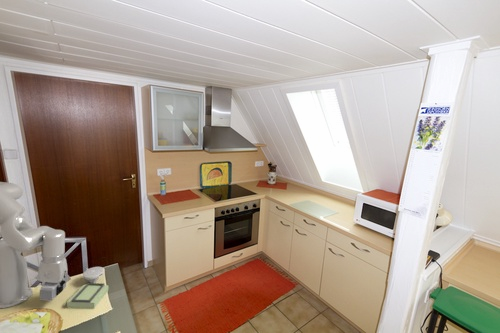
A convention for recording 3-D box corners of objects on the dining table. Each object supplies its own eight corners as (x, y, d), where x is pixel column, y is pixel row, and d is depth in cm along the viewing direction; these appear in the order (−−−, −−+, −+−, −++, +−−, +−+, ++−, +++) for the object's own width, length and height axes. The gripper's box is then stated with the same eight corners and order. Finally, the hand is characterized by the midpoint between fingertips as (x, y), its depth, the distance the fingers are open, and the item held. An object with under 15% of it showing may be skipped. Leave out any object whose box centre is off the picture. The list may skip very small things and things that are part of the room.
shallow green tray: (67, 307, 103) (66, 300, 103) (84, 289, 115) (83, 282, 115) (94, 308, 104) (94, 300, 104) (108, 290, 116) (108, 283, 116)
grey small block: (39, 299, 101) (39, 287, 100) (55, 286, 109) (55, 275, 109) (51, 300, 101) (52, 288, 100) (65, 286, 110) (66, 275, 109)
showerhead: (93, 263, 126) (108, 267, 124) (93, 275, 127) (108, 278, 125) (77, 273, 116) (93, 277, 115) (77, 285, 118) (93, 290, 116)
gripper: (26, 259, 98) (26, 296, 100) (67, 263, 99) (66, 299, 102) (40, 250, 105) (40, 285, 108) (79, 254, 107) (77, 288, 109)
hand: (53, 291), depth 105 cm, fingers closed on grey small block, 5 cm apart
